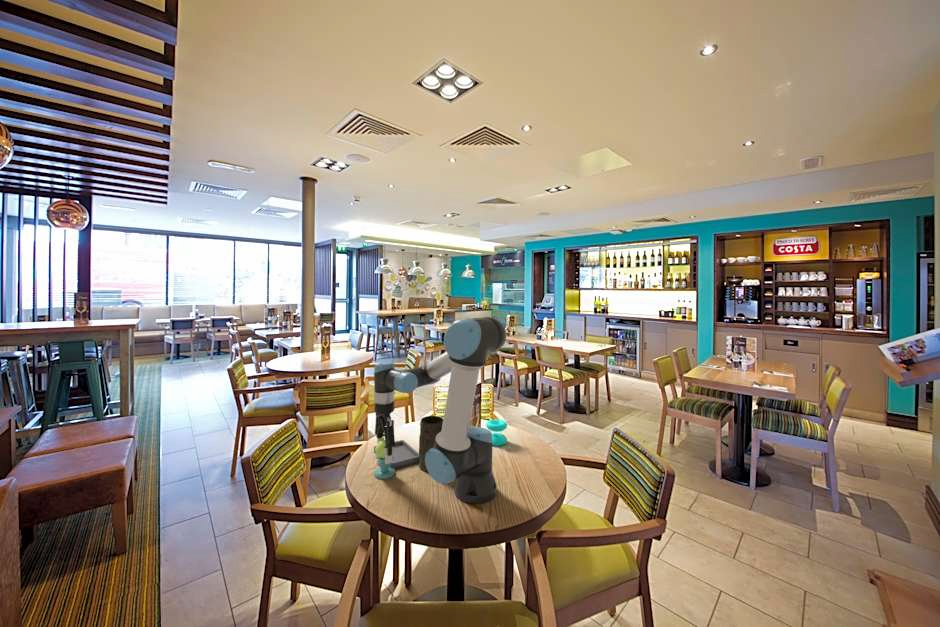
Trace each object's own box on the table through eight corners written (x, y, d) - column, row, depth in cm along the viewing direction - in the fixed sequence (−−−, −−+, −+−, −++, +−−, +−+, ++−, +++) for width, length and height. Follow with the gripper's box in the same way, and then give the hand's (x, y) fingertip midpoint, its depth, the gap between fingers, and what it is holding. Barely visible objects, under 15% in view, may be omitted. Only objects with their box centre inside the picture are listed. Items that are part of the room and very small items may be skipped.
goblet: (398, 475, 143) (398, 457, 143) (378, 481, 139) (378, 462, 138) (390, 467, 150) (390, 450, 149) (371, 472, 145) (371, 454, 145)
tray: (421, 461, 155) (421, 455, 155) (390, 469, 148) (390, 464, 147) (403, 444, 172) (403, 439, 172) (373, 451, 164) (373, 446, 164)
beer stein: (412, 467, 149) (414, 420, 148) (427, 457, 159) (429, 412, 157) (444, 479, 142) (447, 430, 141) (457, 467, 152) (460, 421, 150)
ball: (396, 459, 143) (396, 441, 143) (379, 463, 139) (378, 445, 139) (389, 452, 149) (389, 435, 148) (373, 456, 145) (372, 439, 145)
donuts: (498, 427, 168) (482, 422, 175) (498, 448, 169) (481, 442, 175) (511, 421, 176) (494, 417, 182) (510, 442, 176) (494, 436, 183)
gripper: (404, 407, 136) (404, 466, 137) (384, 393, 154) (384, 446, 155) (384, 410, 132) (384, 471, 133) (366, 396, 149) (366, 450, 151)
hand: (384, 458), depth 144 cm, fingers open, 8 cm apart
